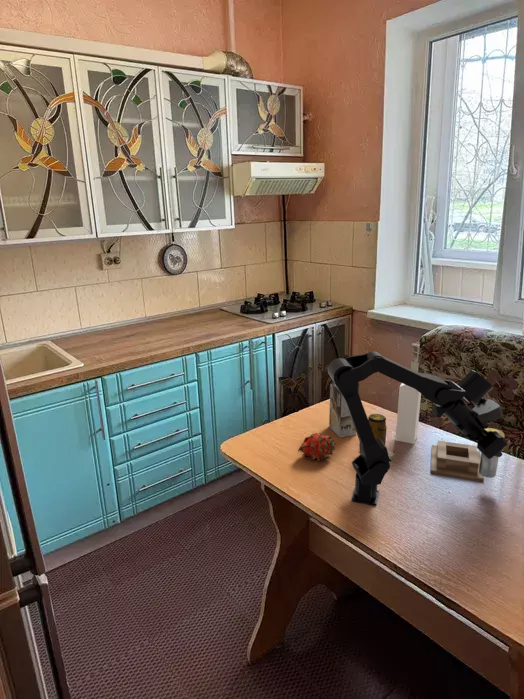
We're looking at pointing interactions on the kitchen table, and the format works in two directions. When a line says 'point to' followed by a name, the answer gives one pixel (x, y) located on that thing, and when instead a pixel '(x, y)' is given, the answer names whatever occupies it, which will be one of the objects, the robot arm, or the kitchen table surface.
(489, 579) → the kitchen table surface
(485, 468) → the pin
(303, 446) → the dragon fruit
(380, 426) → the condiment
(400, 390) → the milk
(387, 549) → the kitchen table surface
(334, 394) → the coffee box
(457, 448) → the block
